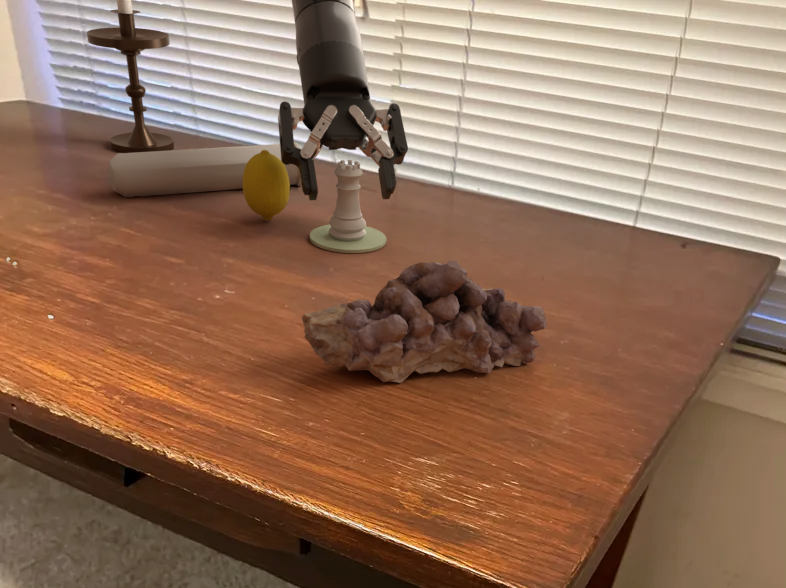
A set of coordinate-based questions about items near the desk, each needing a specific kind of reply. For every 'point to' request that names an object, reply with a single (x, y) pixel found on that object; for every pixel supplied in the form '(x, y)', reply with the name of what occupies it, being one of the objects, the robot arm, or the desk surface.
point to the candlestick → (133, 76)
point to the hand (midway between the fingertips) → (351, 196)
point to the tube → (187, 170)
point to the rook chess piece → (348, 204)
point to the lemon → (266, 184)
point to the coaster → (366, 244)
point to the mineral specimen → (426, 326)
